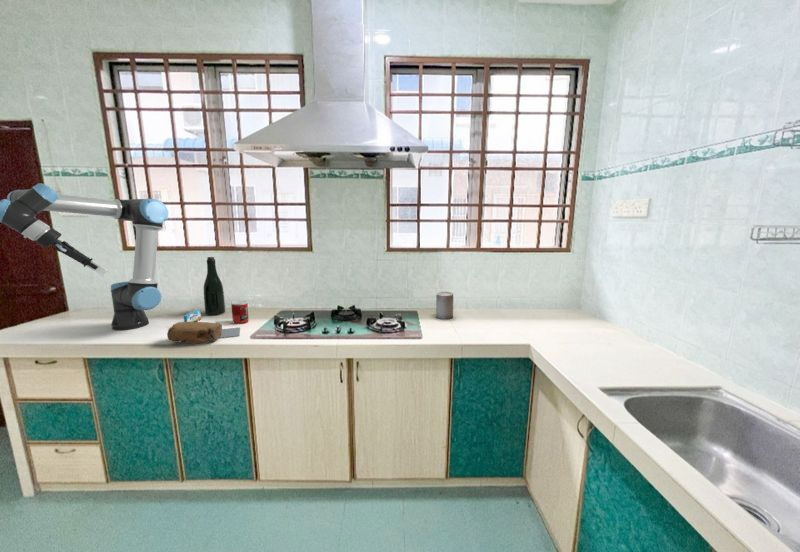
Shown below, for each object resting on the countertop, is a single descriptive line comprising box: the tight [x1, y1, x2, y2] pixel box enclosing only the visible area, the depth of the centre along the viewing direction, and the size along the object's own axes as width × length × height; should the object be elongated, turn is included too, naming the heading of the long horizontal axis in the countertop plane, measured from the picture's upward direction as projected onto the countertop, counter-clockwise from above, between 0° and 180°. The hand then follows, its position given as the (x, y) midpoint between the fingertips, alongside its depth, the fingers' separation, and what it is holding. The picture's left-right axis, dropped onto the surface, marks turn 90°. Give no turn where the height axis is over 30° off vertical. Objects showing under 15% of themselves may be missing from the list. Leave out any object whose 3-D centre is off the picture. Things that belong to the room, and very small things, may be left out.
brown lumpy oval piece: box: [167, 321, 223, 344], centre depth 156 cm, size 11×8×20 cm
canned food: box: [231, 300, 250, 325], centre depth 184 cm, size 8×8×11 cm
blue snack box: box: [183, 309, 202, 322], centre depth 181 cm, size 12×2×6 cm, turn 0°
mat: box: [179, 326, 241, 344], centre depth 165 cm, size 13×24×1 cm, turn 113°
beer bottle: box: [203, 256, 226, 317], centre depth 198 cm, size 10×10×33 cm
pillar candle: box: [435, 291, 454, 320], centre depth 197 cm, size 10×10×15 cm
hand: (105, 272), depth 147 cm, fingers closed
